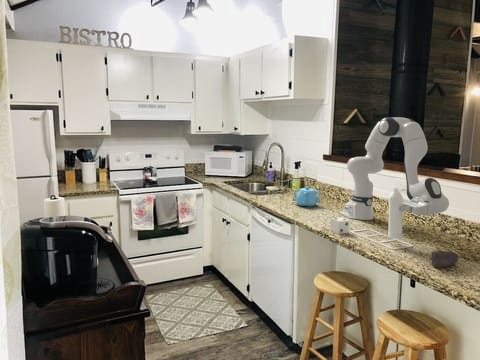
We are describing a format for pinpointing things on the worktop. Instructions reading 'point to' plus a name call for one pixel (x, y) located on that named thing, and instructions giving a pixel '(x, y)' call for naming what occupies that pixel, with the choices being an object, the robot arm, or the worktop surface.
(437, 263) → the perforated stone tool
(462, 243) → the worktop surface
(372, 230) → the game track
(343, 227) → the die
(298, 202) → the decorative pot
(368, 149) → the robot arm
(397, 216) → the white bottle
